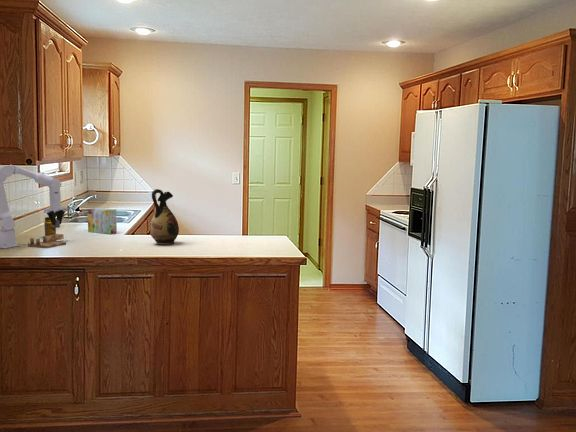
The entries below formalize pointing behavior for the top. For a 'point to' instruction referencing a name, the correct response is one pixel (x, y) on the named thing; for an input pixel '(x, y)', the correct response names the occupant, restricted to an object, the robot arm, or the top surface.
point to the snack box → (102, 220)
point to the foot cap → (57, 224)
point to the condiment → (49, 227)
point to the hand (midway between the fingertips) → (56, 224)
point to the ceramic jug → (163, 220)
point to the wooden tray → (44, 243)
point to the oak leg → (54, 237)
